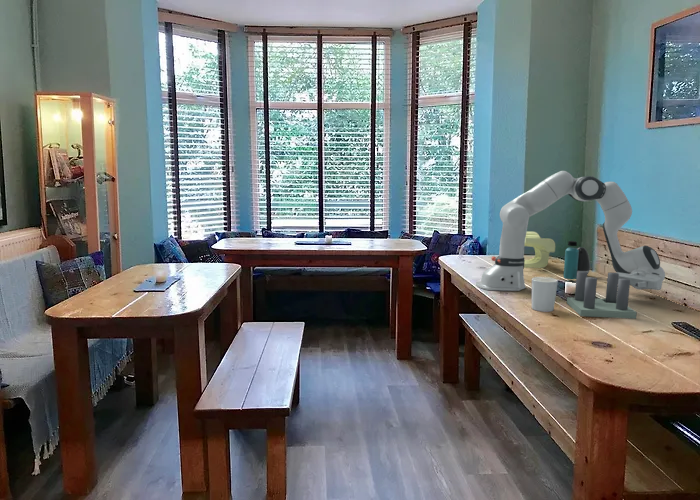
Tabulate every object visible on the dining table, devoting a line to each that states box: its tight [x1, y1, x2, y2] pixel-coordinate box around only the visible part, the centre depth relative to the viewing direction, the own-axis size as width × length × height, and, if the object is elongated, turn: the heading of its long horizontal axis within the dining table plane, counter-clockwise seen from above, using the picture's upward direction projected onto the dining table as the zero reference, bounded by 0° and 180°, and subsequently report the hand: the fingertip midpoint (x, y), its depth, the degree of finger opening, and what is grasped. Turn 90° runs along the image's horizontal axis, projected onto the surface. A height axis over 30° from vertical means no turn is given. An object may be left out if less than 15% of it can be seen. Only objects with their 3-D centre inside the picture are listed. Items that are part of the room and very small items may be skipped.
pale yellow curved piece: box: [524, 231, 556, 269], centre depth 313 cm, size 30×16×18 cm, turn 178°
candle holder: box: [531, 276, 559, 313], centre depth 218 cm, size 10×10×12 cm
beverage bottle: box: [562, 240, 579, 280], centre depth 272 cm, size 6×7×20 cm
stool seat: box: [566, 271, 637, 320], centre depth 217 cm, size 20×20×14 cm
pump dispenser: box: [576, 246, 591, 274], centre depth 286 cm, size 10×10×15 cm
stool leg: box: [605, 271, 619, 303], centre depth 222 cm, size 4×4×14 cm
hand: (625, 282), depth 229 cm, fingers open, 8 cm apart
